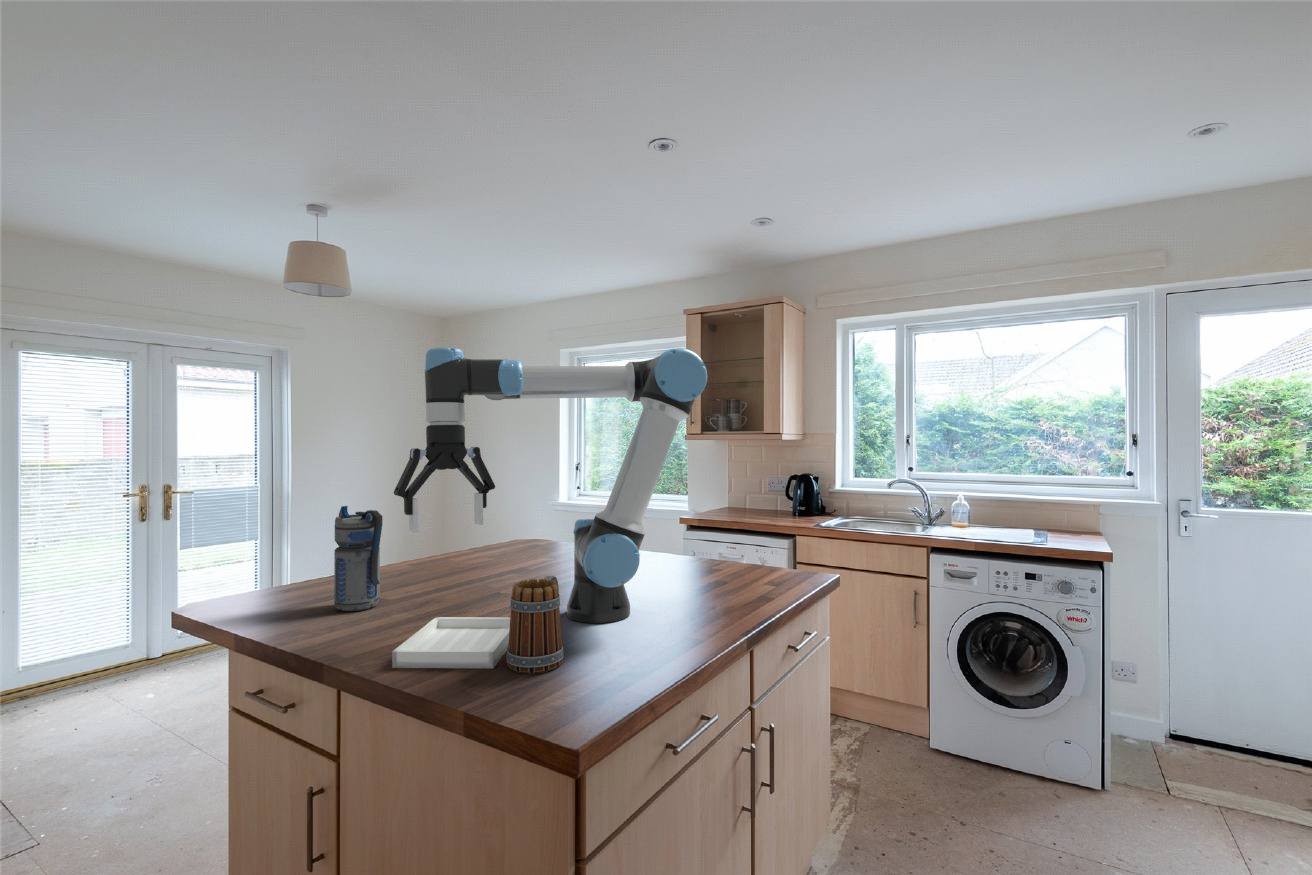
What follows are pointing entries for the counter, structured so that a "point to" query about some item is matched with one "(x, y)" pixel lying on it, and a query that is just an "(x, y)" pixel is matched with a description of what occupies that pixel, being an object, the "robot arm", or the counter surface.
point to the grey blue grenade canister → (357, 560)
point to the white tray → (455, 644)
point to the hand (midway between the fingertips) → (447, 527)
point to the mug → (535, 627)
